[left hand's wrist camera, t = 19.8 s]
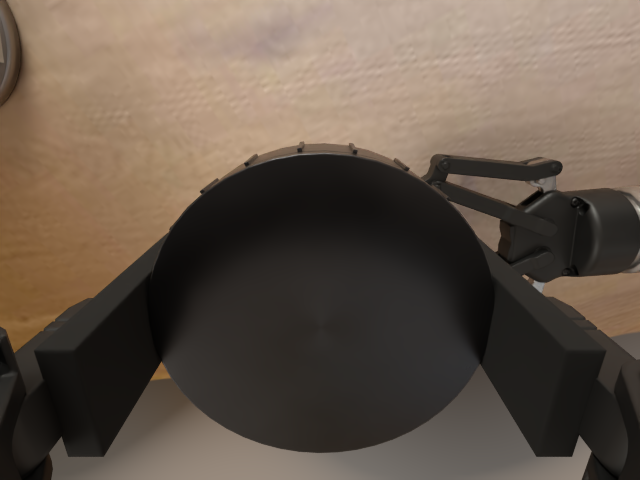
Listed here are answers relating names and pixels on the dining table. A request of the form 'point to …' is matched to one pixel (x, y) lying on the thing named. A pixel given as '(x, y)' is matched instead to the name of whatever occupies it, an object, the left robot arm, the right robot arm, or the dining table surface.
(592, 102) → the dining table surface
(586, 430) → the left robot arm
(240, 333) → the lid
